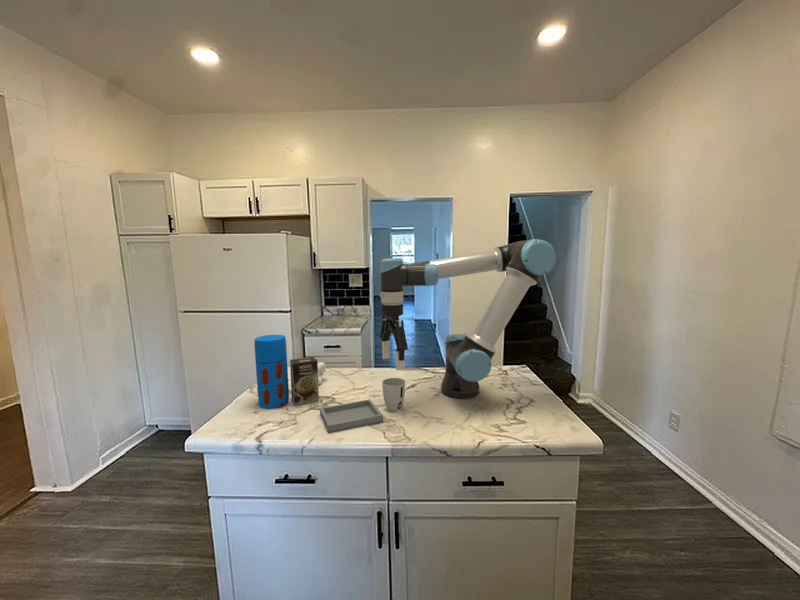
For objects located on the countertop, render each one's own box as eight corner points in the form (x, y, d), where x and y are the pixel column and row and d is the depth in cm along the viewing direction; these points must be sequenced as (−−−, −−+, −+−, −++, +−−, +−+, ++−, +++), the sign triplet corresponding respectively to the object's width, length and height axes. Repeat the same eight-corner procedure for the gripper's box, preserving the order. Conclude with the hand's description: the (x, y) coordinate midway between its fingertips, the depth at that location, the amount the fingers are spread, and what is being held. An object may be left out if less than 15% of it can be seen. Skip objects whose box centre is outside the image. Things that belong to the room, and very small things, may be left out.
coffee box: (294, 407, 129) (292, 364, 126) (291, 400, 134) (289, 359, 132) (319, 401, 133) (317, 360, 131) (315, 395, 138) (313, 355, 136)
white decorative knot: (292, 387, 148) (290, 366, 147) (305, 377, 160) (304, 358, 159) (316, 389, 146) (315, 367, 145) (328, 378, 157) (328, 359, 156)
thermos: (294, 402, 132) (291, 337, 129) (267, 412, 124) (262, 343, 121) (280, 395, 140) (276, 333, 136) (253, 403, 132) (248, 338, 129)
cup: (403, 414, 121) (402, 386, 120) (380, 412, 123) (379, 385, 121) (407, 404, 129) (407, 378, 128) (385, 403, 131) (385, 377, 129)
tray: (370, 405, 129) (369, 399, 128) (383, 422, 116) (383, 414, 116) (320, 414, 122) (319, 408, 122) (328, 433, 109) (328, 425, 109)
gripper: (370, 300, 131) (371, 355, 134) (395, 309, 108) (396, 376, 111) (389, 298, 134) (390, 353, 137) (417, 307, 111) (418, 372, 114)
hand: (393, 363), depth 124 cm, fingers open, 13 cm apart
